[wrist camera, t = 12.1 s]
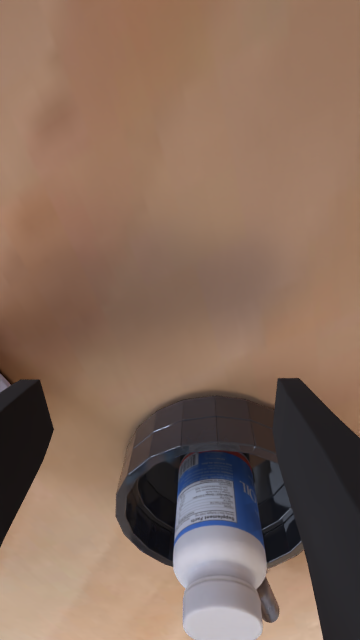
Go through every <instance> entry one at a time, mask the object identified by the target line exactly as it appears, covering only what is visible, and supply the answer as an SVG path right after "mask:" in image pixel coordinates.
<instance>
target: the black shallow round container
mask: <svg viewBox="0 0 360 640" xmlns="http://www.w3.org/2000/svg"><path fill="white" fill-rule="evenodd" d="M273 419H274V410H272V409H269V408H267V407H264V406H262V405H259V404H257V403H254V402H252V401H249V400H246V399H240V398H232V397H223V396H208V397H200V398H193V399H185V400H181V401H179V402H177V403H174V404H172V405H170V406H167V407H165V408H162V409H160V410H158V411H156V412H155V413H154V414H153V415H152V416H150V417H149V418H148V419H147V420H146V421H145V422H143V423H142V424H141V425H140V426H139V427H138V428H137V430H136V432H135V433H134V435H133V437H132V439H131V441H130V443H129V445H128V448H127V452H126V456H125V460H124V464H123V468H122V472H121V476H120V481H119V485H118V489H117V493H116V518H117V520H118V522H119V525H120V527H121V529H122V531H123V533H124V535H125V536H126V537H127V538H128V539H129V540H130V541H131V542H132V543H133V544H134V545H135V546H136V547H137V548H138V549H139V550H140V551H142V552H143V553H145V554H147V555H149V556H150V557H152V558H154V559H156V560H158V561H159V562H161V563H164V564H165V565H169V566H172V567H173V551H174V537H175V523H176V508H177V493H178V477H179V467H180V464H181V461H182V459H183V458H184V456H185V455H186V454H187V453H194V452H203V451H212V450H223V451H232V452H240V453H243V454H244V455H245V456H246V457H247V459H248V461H249V463H250V466H251V469H252V475H253V481H254V487H255V493H256V499H257V505H258V511H259V517H260V522H261V529H262V535H263V541H264V547H265V553H266V561H267V568H271V567H274V566H277V565H279V564H281V563H283V562H285V561H287V560H289V559H291V558H293V557H295V556H297V555H298V554H299V553H301V552H302V551H303V550H304V547H303V544H302V540H301V537H300V534H299V531H298V527H297V524H296V521H295V517H294V514H293V511H292V508H291V504H290V501H289V498H288V495H287V491H286V488H285V485H284V481H283V478H282V475H281V471H280V468H279V464H278V460H277V454H276V449H275V443H274V438H273V432H272V429H273Z"/></svg>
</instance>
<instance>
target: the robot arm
mask: <svg viewBox="0 0 360 640" xmlns="http://www.w3.org/2000/svg"><path fill="white" fill-rule="evenodd" d="M53 430H54V428H53V425H52V421H51V418H50V414H49V411H48V407H47V404H46V400H45V397H44V393H43V390H42V386H41V383H40V380H19V381H17V382H16V383H14V384H12V385H11V384H10V383H9V382H8V381H7V380H6V379H5V378H4V377H3V376H2V375H1V374H0V547H1V544H2V542H3V540H4V538H5V536H6V534H7V532H8V530H9V528H10V526H11V524H12V522H13V520H14V518H15V516H16V514H17V512H18V510H19V508H20V506H21V504H22V502H23V500H24V498H25V496H26V494H27V492H28V490H29V488H30V486H31V484H32V482H33V480H34V478H35V476H36V474H37V472H38V470H39V468H40V466H41V464H42V462H43V459H44V457H45V454H46V451H47V448H48V446H49V443H50V440H51V437H52V433H53ZM272 432H273V438H274V443H275V449H276V454H277V460H278V464H279V468H280V471H281V475H282V478H283V481H284V485H285V488H286V491H287V495H288V498H289V501H290V504H291V508H292V511H293V514H294V517H295V521H296V524H297V527H298V531H299V534H300V537H301V540H302V544H303V547H304V551H305V555H306V559H307V563H308V567H309V572H310V577H311V581H312V586H313V591H314V595H315V600H316V605H317V610H318V615H319V620H320V625H321V630H322V635H323V640H360V438H359V437H358V436H357V435H356V434H355V433H354V432H352V431H351V430H350V429H349V428H348V427H347V426H346V425H345V424H344V423H343V422H342V421H341V420H340V419H339V418H338V417H337V416H336V415H335V414H334V413H333V412H332V411H331V410H330V409H329V408H328V407H327V406H326V405H325V404H324V403H323V402H322V401H321V400H320V399H319V398H318V397H317V396H316V395H315V394H314V393H313V392H312V391H311V390H310V389H309V388H308V387H307V386H306V385H305V384H304V383H303V382H302V381H301V380H300V379H299V378H278V381H277V391H276V400H275V410H274V419H273V429H272Z"/></svg>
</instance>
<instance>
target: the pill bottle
mask: <svg viewBox="0 0 360 640" xmlns="http://www.w3.org/2000/svg"><path fill="white" fill-rule="evenodd" d="M173 568H174V572H175V575H176V577H177V579H178V581H179V582H180V583H181V585H182V586H183V587H184V588H186V589H185V592H184V597H183V628H184V630H185V632H186V633H187V634H188V635H189V636H190V637H191V638H193V639H195V640H256V639H257V638H258V637H259V636H260V635H261V633H262V629H263V623H262V614H261V601H260V598H259V595H258V592H257V590H256V589H257V588H258V587H259V586H260V585H261V584H262V582H263V580H264V579H265V576H266V572H267V561H266V553H265V547H264V541H263V535H262V529H261V522H260V517H259V511H258V505H257V499H256V493H255V487H254V481H253V475H252V469H251V466H250V463H249V461H248V459H247V457H246V456H245V455H244V454H243V453H240V452H232V451H223V450H212V451H203V452H194V453H187V454H186V455H185V456H184V458H183V459H182V461H181V464H180V467H179V477H178V493H177V508H176V523H175V537H174V551H173Z"/></svg>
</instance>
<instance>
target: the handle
mask: <svg viewBox="0 0 360 640" xmlns="http://www.w3.org/2000/svg"><path fill="white" fill-rule="evenodd" d="M256 590H257V592H258V595H259V598H260V601H261V614H262V619H263V620H264V621H266V622H269V623H272V622H274V621H276V620H277V618H278V616H279V606H278V603H277V601H276V599H275V596H274V594H273V592H272V590H271V587H270V585H269V583H268V581H267V578H266V576H265V579H264V580H263V582H262V584H261V585H260V586H259V587H258V588H257V589H256Z"/></svg>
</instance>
